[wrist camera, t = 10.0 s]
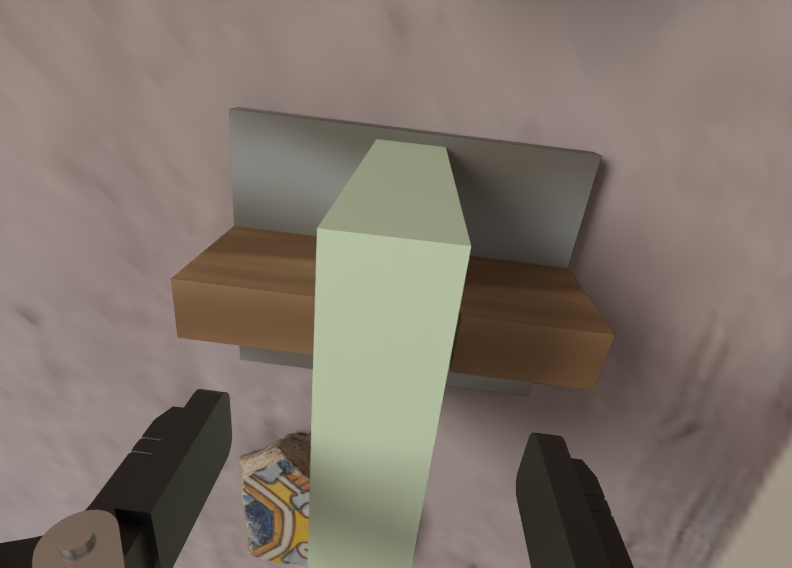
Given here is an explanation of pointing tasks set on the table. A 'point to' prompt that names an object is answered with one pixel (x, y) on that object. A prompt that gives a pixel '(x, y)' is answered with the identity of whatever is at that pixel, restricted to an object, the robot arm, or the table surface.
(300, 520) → the ceramic tile fragment
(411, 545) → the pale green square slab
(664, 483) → the table surface
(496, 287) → the slotted wooden stand
